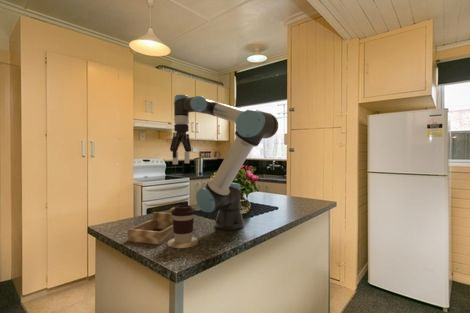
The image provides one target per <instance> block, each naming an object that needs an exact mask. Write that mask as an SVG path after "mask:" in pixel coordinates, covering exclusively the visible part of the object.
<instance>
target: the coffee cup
mask: <svg viewBox="0 0 470 313" xmlns="http://www.w3.org/2000/svg"><path fill="white" fill-rule="evenodd" d="M174 207H175V209H173V210H172V211H171V214H172V215H173V232H174V237H173V238H174V239H175V242H176V243H180V244H184V243H189V242H190V241H191V240H192V237H193V231H194V220H195V218H194V215H195V214H196V209H195V208H192V206H191V205H188V204H181V205H176V206H174Z"/></svg>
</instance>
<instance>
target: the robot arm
mask: <svg viewBox="0 0 470 313" xmlns="http://www.w3.org/2000/svg"><path fill="white" fill-rule="evenodd" d="M173 105H174V107H173V108H174V113H173V114H174V116H173V117H174V118H173V120H174V121H173V122H174V128H173V134H172V140H171V144H170V147H169V148H170V149H169V151H170V152H172V165H179V152H178V150H179V147H180V145H181V143H182V145H183V148H184V164H190V153H191V152H192V146H191V142H190V134H189V133H188V132H189V128H190V127H189V126H190V125H189V123H190V122H189V120H190V119H189V117H190V116H189V113H200V114H206V115H210V116H213V117H216V118H219V119H221V120H225V121H228V122H231V123H232V124H233V123H234V124H235V132H234V135H235V138H234V141H233V143H232V144H231V146H230V148H229V150H228V151H227V154H225V157H224V158H223V160H222V162H221V164H220V166H219V167H218V170H217V171H216V173H215V175H214V177H213V178H210V179H209V180H208V181H207V183H206V184H205V186H204V187H200V188H199V189H198V190H197V191H196V194H195V200H196V204H197V207H199V209H200V210H201V211H202V212H205V213H211V212H215V211H218V212H217V215H216V218H215V222H214V223H215V224H214V225H215V226H214V227H216V228H217V229H220V230H224V231H225V230H226V231H227V230H228V231H230V230H231V231H232V230H238V229H239V230H240V229H242V228H243V227H244V226H245V222H244V218H243V214H242V212H241V203H242V201H241V192H242V188H241V184H240V183H238V182H237V183H236V182H233V181H234V180H235V178H236V176H237V175H238V174H239V171H240V170H241V168H242V166H243V165H244V163H245V161H246V160H247V158H248V156H249V155H250V153H251V151H253V150H252V149H253V148H257V147H258V146H259V144H260V143H261V141H262V140H263V139H270V138H272V137H274V136H275V135H276V133H277V132H278V130H279V122H278V118H277V117H276V116H275V115H273V114H272V113H269V112H266V111H261V110H259V109H253V108H250V109H249V108H248V109H245V110H244V109H242V108H238V107H234V106H232V105H231V106H230V105H227V104H224V103H220V102H217V101H214V100H210V99H206V98H205V97H204V96H203V95H195V96H190V97H189V95H188V94H176V95H175V96H174V101H173Z"/></svg>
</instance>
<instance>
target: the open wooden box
mask: <svg viewBox="0 0 470 313" xmlns="http://www.w3.org/2000/svg"><path fill="white" fill-rule="evenodd" d="M156 229H159V230H160V229H161V230H160V231H157V230H156ZM172 238H174V232H173V215H172V214H171V213H168V212H160V211H159V212H157V211H154V212H152V219H149V220H146V221H144V222H142V223H140V224H137V225H135V226H133V227H131V228H128V229H127V241H128V242H136V243H142V244H143V243H145V244H154V245H163V244H165V243H166V242H168V240H170V239H172Z"/></svg>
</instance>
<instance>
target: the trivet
mask: <svg viewBox="0 0 470 313" xmlns="http://www.w3.org/2000/svg"><path fill="white" fill-rule="evenodd" d="M166 242H167V246H168V247H170V248H173V249H186V248H187V249H188V248H192V247H194V246H196V245H198V244H199V238H197V237H194V236H192V240H191V241H190V242H189V243H184V244H180V243H176V242H175V239H174V237H172V238H171V239H169V240H167V241H166Z"/></svg>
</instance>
